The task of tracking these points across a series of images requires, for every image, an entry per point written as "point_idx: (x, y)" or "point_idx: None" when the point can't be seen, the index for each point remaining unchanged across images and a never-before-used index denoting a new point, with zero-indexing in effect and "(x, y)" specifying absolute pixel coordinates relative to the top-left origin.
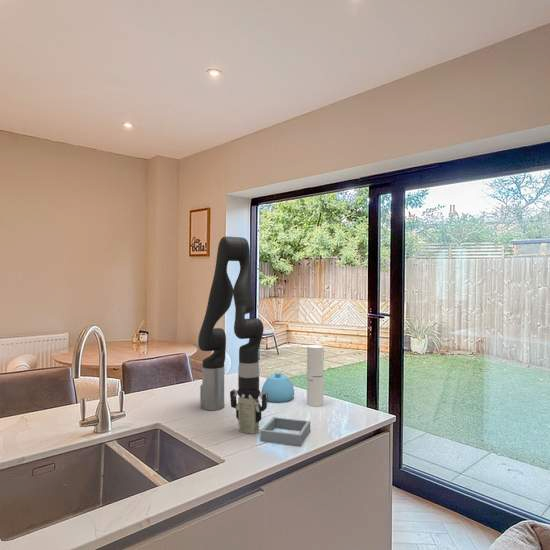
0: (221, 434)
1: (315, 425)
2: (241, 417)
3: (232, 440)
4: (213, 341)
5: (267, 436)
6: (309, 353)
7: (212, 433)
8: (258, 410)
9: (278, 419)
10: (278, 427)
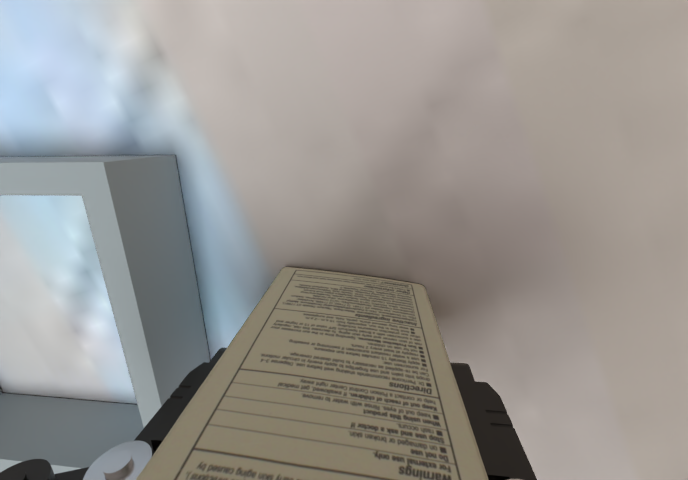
0: (571, 183)
1: None
2: (408, 365)
3: (410, 77)
4: None
5: (77, 159)
6: None
7: (679, 179)
8: (104, 465)
9: None
10: None
